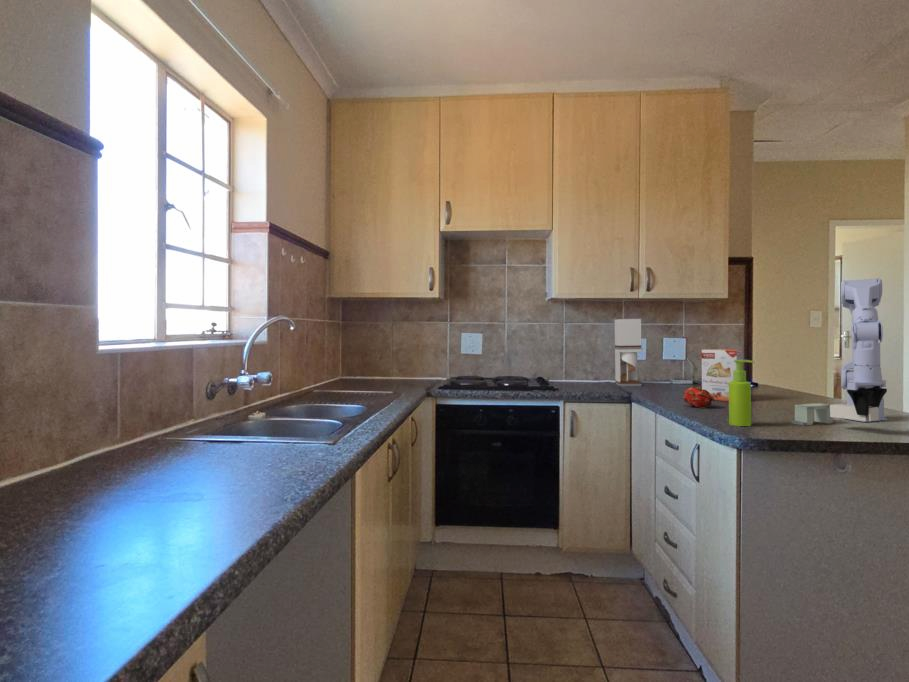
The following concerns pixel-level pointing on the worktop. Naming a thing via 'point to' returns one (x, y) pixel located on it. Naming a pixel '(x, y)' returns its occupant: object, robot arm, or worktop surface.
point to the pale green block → (806, 414)
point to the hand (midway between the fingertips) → (866, 414)
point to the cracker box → (719, 371)
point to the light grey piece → (627, 351)
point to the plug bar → (853, 412)
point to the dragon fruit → (697, 397)
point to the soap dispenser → (740, 397)
